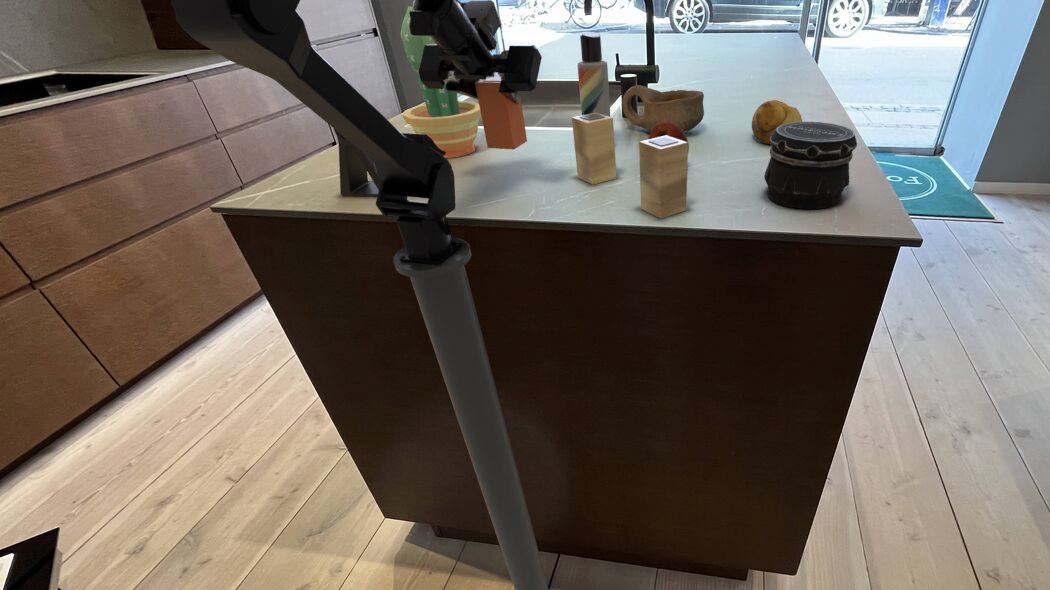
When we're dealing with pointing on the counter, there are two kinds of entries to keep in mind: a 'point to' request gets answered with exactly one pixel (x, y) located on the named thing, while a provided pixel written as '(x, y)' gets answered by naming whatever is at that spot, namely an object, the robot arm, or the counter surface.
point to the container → (809, 164)
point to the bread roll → (772, 118)
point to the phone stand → (356, 170)
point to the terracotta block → (500, 116)
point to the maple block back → (594, 147)
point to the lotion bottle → (593, 76)
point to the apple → (668, 131)
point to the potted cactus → (439, 106)
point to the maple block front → (663, 175)
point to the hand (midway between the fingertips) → (504, 101)
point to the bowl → (665, 107)
